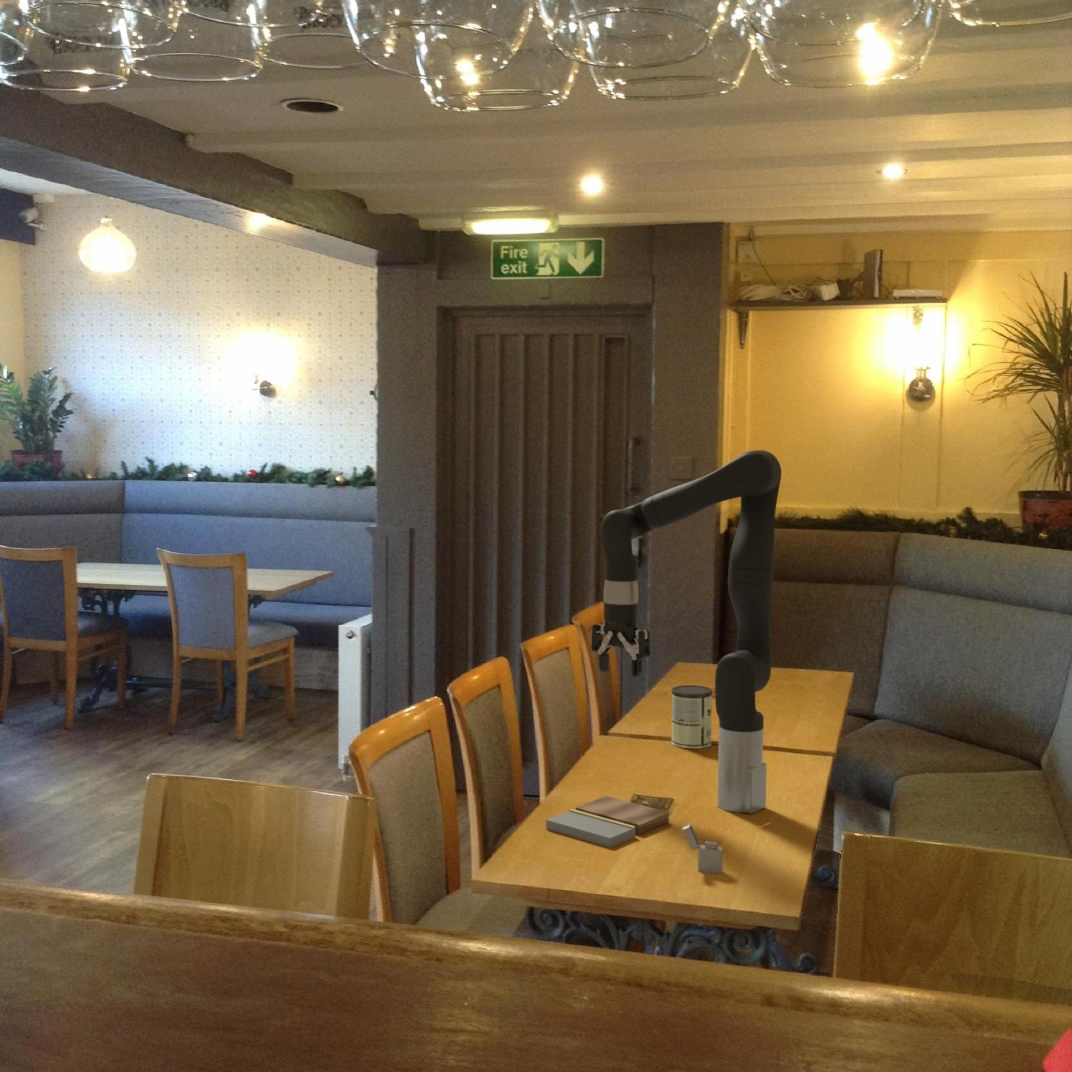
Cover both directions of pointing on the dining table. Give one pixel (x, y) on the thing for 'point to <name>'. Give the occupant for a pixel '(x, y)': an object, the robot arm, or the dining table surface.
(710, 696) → the coffee can
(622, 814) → the walnut plank
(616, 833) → the board
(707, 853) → the lighter
